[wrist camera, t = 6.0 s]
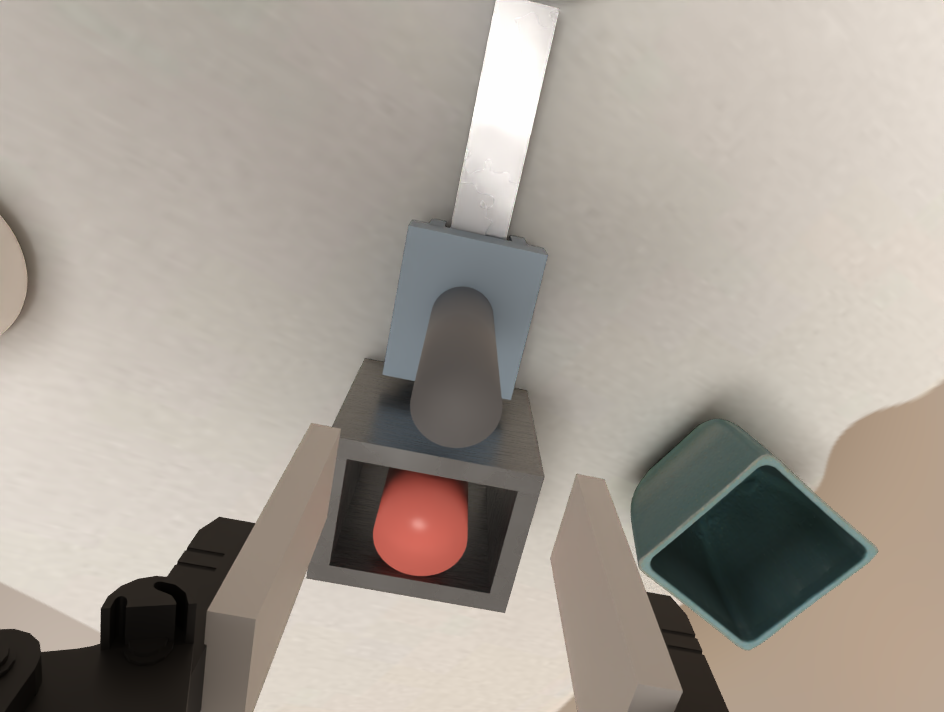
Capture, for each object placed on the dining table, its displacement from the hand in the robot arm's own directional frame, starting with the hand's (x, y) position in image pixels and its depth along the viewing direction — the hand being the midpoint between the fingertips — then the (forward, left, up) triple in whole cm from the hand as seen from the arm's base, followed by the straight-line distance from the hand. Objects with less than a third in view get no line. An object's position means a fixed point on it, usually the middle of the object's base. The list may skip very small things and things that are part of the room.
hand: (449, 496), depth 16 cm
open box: (+9, 0, -21) cm, 23 cm away
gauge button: (+9, 0, -15) cm, 18 cm away
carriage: (0, 0, -21) cm, 21 cm away
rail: (-5, 0, -21) cm, 22 cm away
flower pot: (+8, +17, -21) cm, 28 cm away
